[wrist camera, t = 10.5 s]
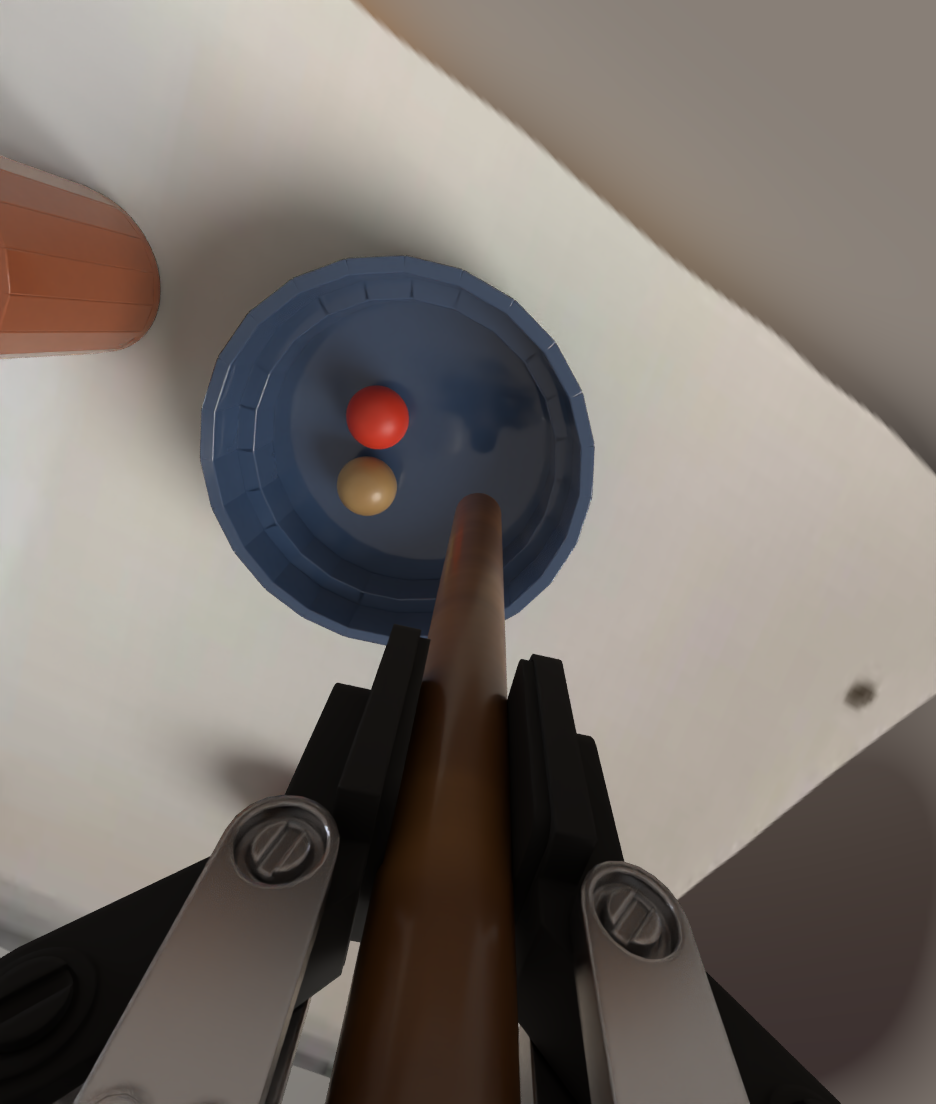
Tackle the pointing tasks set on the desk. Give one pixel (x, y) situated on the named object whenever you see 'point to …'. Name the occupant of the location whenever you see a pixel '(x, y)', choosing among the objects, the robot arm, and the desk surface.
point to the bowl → (416, 460)
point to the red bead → (377, 417)
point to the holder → (69, 268)
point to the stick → (445, 867)
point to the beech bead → (366, 486)
